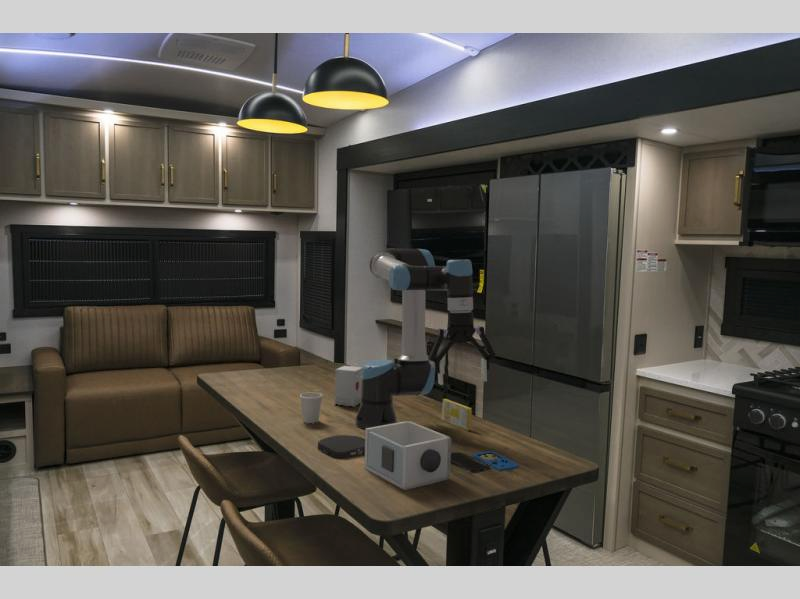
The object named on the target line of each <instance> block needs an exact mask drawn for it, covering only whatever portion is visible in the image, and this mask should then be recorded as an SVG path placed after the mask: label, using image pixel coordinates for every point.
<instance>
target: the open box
mask: <svg viewBox="0 0 800 599" xmlns="http://www.w3.org/2000/svg"><path fill="white" fill-rule="evenodd" d="M364 430H365V431H364V433H365V435H364V436H365V438H364V439H365V454H364V469H365V470H367V471H368V472H371V473H372V474H374V475H376V476H378V477H380V478H382V479H383V480H385V481H387V482H388V483H390V484H392V485H394V486H396V487H398V488H400V489H401V490H403V491H409V490H414V489H417V488H419V487H424V486H428V485H431V484H435V483H439V482H443V481H447V480H450V479H451V453H452V437H450V436H448V435H445V434H444V433H440V432H438V431H435V430H433V429H431V428H429V427H426V426H423V425H420V424H418V423H415V422H413V421H411V420H406V421H401V422H397V423H393V424H388V425H382V426H377V427H371V428H365V429H364ZM371 431H372V432H374V433H376V434H378V435H380V436H383V437H385V438H387V439H389V440H391V441H393V442H396V443H398V444H400V445H402V446H403V481H402V483H400V482H398V481H396V480H394V479H392V478H390V477H389V476H387V475H385V474H383V473H381V472H379V471H377V470H376V469H374V468H372V467H370V466H368V436H369V432H371Z"/></svg>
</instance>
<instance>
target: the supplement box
mask: <svg viewBox="0 0 800 599" xmlns="http://www.w3.org/2000/svg"><path fill="white" fill-rule="evenodd" d="M362 367H363V366H362ZM362 367H360V366H351V365H350V366H349V365H342V366H340V367H338V368H336V369H335V370H334V372H335V374H334V375H335V376H334V377H335V378H334V380H335V381H334V385H335V386H334V405H335V404H338V405H337V406H340V405H345V406H344V407H349V406H355V407H357V406H358V404H359V403H360V404H361V373H362ZM360 404H359V405H360ZM356 405H357V406H356Z"/></svg>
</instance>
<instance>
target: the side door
mask: <svg viewBox="0 0 800 599" xmlns="http://www.w3.org/2000/svg"><path fill="white" fill-rule="evenodd" d="M368 466H370V467H372V468H374V469H376V470H377V471H379V472H381V473H383V474H385V475H387V476H389V477H390V478H392V479H394V480H396V481H398V482H400V483H402V481H403V446H402V445H400V444H398V443H396V442H393V441H391V440H389V439H387V438H385V437H383V436H380V435H378V434H376V433H374V432H372V431H371V432H369V436H368Z"/></svg>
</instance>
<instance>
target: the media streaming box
mask: <svg viewBox="0 0 800 599" xmlns="http://www.w3.org/2000/svg"><path fill="white" fill-rule="evenodd" d="M317 450H319V451H320V450H321V451H320V452H322V453H324V454H326V455H327V456H330V457H332V458H334V459H335V458H336V459H346V458H352V457H356V456H360V455H363V454H364V455H365V438H364V437H361V436H358V435H348V434H347V435H346V434H340V435H332V436H328V437H325V438H321V439H320V440H318V442H317Z"/></svg>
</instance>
